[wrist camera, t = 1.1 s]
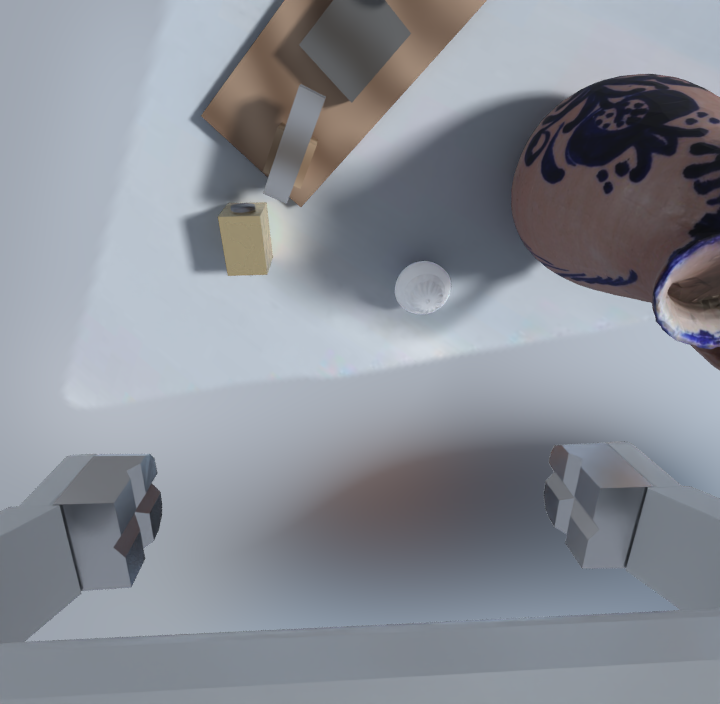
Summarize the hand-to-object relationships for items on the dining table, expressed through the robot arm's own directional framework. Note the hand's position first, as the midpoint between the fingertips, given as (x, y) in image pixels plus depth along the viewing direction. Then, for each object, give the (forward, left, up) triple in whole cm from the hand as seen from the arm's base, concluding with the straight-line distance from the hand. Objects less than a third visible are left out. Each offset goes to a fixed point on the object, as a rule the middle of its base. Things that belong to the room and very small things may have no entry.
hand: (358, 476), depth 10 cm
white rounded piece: (+4, +16, -43) cm, 46 cm away
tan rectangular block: (+13, -1, -43) cm, 45 cm away
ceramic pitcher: (-15, +21, -43) cm, 50 cm away
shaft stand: (-7, -5, -43) cm, 44 cm away
